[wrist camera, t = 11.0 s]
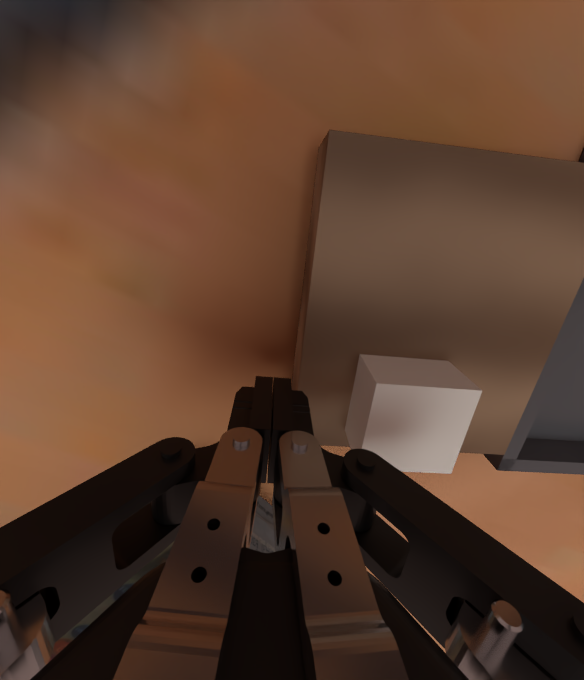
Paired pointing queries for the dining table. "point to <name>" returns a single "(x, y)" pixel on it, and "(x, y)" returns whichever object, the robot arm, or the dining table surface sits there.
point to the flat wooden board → (436, 272)
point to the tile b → (411, 411)
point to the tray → (554, 407)
